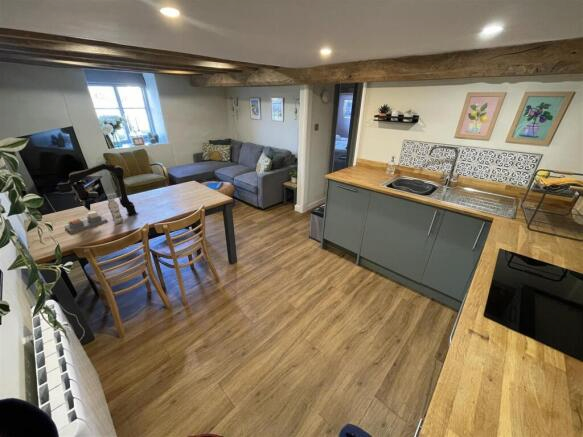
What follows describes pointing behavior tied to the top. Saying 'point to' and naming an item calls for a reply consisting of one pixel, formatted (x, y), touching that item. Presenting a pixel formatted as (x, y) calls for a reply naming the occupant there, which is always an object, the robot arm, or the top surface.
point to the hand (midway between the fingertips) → (89, 210)
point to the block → (85, 224)
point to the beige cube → (92, 214)
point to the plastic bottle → (115, 211)
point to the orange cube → (74, 220)
